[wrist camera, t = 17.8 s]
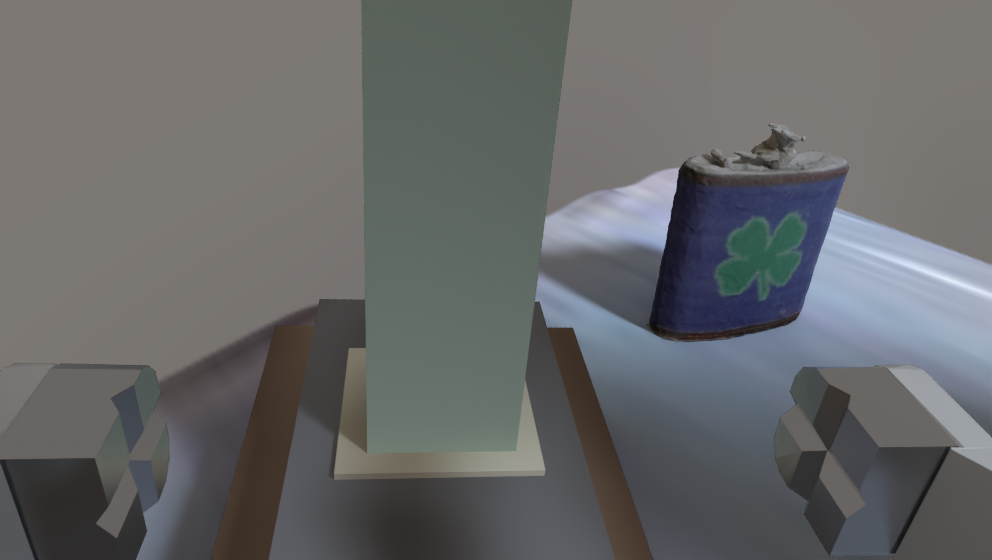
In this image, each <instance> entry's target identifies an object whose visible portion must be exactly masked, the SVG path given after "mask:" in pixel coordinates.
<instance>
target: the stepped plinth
mask: <svg viewBox="0 0 992 560" xmlns="http://www.w3.org/2000/svg"><path fill="white" fill-rule="evenodd" d="M211 560H653V558H652V555H651V552H650V549H649V546H648V543H647V540H646V537H645V535H644V532H643V529H642V526H641V523H640V520H639V517H638V514H637V512H636V509H635V506H634V503H633V500H632V497H631V494H630V491H629V488H628V486H627V483H626V480H625V477H624V474H623V471H622V468H621V465H620V463H619V460H618V457H617V454H616V451H615V448H614V445H613V442H612V439H611V437H610V434H609V431H608V428H607V425H606V422H605V419H604V416H603V414H602V411H601V408H600V405H599V402H598V399H597V396H596V393H595V391H594V388H593V385H592V382H591V379H590V376H589V373H588V370H587V367H586V365H585V362H584V359H583V356H582V353H581V350H580V347H579V344H578V342H577V339H576V336H575V333H574V330H573V328H547V326H546V322H545V319H544V315H543V312H542V309H541V305H540V302H535V303H534V311H533V319H532V327H531V335H530V343H529V351H528V359H527V367H526V375H525V383H524V392H523V400H522V408H521V416H520V424H519V432H518V440H517V448H516V451H497V452H424V453H367V395H366V318H365V300H337V299H320V300H319V306H318V311H317V316H316V321H315V326H276V327H275V331H274V334H273V338H272V341H271V345H270V349H269V352H268V356H267V359H266V363H265V367H264V370H263V374H262V377H261V381H260V385H259V388H258V392H257V395H256V399H255V403H254V406H253V410H252V413H251V417H250V421H249V424H248V428H247V431H246V435H245V439H244V442H243V446H242V449H241V453H240V457H239V460H238V464H237V467H236V471H235V475H234V478H233V482H232V485H231V489H230V493H229V496H228V500H227V503H226V507H225V511H224V514H223V518H222V522H221V525H220V529H219V532H218V536H217V540H216V543H215V547H214V550H213V554H212V558H211Z"/></svg>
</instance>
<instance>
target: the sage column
mask: <svg viewBox="0 0 992 560" xmlns="http://www.w3.org/2000/svg"><path fill="white" fill-rule="evenodd" d="M361 4H362V6H361V7H362V8H361V10H362V85H363V86H362V87H363V158H364V159H363V162H364V233H365V234H364V239H365V240H364V241H365V318H366V395H367V453H424V452H497V451H516V448H517V440H518V432H519V424H520V416H521V408H522V400H523V392H524V383H525V375H526V367H527V359H528V351H529V343H530V335H531V327H532V319H533V311H534V303H535V295H536V287H537V279H538V271H539V263H540V255H541V247H542V239H543V231H544V223H545V215H546V207H547V199H548V191H549V183H550V174H551V167H552V159H553V151H554V143H555V135H556V127H557V119H558V111H559V102H560V95H561V87H562V78H563V70H564V63H565V55H566V47H567V38H568V31H569V23H570V15H571V7H572V0H361Z"/></svg>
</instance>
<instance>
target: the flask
mask: <svg viewBox="0 0 992 560" xmlns="http://www.w3.org/2000/svg"><path fill="white" fill-rule="evenodd" d="M769 126H770V127H772V128H773V129H771V130H772V135H771V137H770V138H769V139H768V140H766V141H764V142H762V143H761V144H759V145H758V146H755V147H754V148H753V149H752V150H751V152H752V154H751V153H747V152H743V151H735V152H734V153H735V154H737V155H739V156H735V157H729V156H722V152H721V151H719V150H718V149H713V150H712V151H711V155H709V154H706V155H701V156H695V157H691V158H689V159H688V160H687V161H686V162H684V163H683V165H682V166H681V168H680V169H679V174H678V179H677V189H676V193H675V196H674V200H673V207H672V210H671V220H670V223H669V225H668V232H667V240H666V245H665V249H664V254H663V257H662V261H661V266H660V273H659V279H658V283H657V287H656V293H655V298H654V302H653V307H652V312H651V317H650V321H649V324H647V326H649V327H650V328H651V329H652V330H653V332H654V333H655V334H656V335H658V336H660V337H662V338H663V339H671V340H674V341H699V340H700V341H701V340H703V341H704V340H715V339H716V340H717V339H722V340H723V339H730V338H732V337H735V336H737V337H738V336H743V335H744V334H745V333H746V334H747V333H756V332H759V331H764V330H768V329H771V328H772V329H773V328H774V329H775V328H776V327H779V326H785V325H788V324H789V323H791V322H792V321H794V320H796V318H797V317H798V315H799V314H800V312H801V310H802V307H803V304H804V301H805V296H806V293H807V291H808V288H809V285H810V282H811V279H812V275H813V271H814V268H815V265H816V262H817V259H818V256H819V253H820V250H821V247H822V245H823V242H824V239H825V236H826V233H827V230H828V227H829V224H830V221H831V218H832V214H833V211H834V208H835V206H836V203H837V200H838V197H839V194H840V191H841V188H842V185H843V183H844V181H845V178H846V175H847V173H848V170H849V165H848V163H847V162H846V160H845V159H843V158H840V157H838V156H836V155H833V154H828V153H825V152H821V151H805V152H801V153H797V151H795V150H794V149H793V146H794V142H797V141H799V140H800V135H797V134H796V133H794V132H792V131H790V130H789V129H788V127H787V126H786V125H779V124H774V123H771V124H769ZM806 139H807V138H806V136H803V137H802V139H801V141H802V142H805V141H806Z"/></svg>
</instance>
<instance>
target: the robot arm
mask: <svg viewBox="0 0 992 560" xmlns="http://www.w3.org/2000/svg"><path fill="white" fill-rule="evenodd" d="M790 393H791V395H792V397H793V399H794V402H795V404H796V405H795V406H793V407H792V408H791V409H790V410H789V411H788V412H786V413H785V414H784V415H783V416H782V417H781V418H780V421H779V424H778V427H777V430H776V434H775V437H774V441H775V459H776V462H777V465H778V468H779V472H780V474H781V476H782V477H783V479H784V481H785V483H786V484H787V486H788V488H790V489H791V490H793V491H794V492H796V493H797V494H799V495H800V496H802V497H803V498H804V499H806V500H807V504H806V508H805V513H804V515H805V516H806V518H807V520H808V521H809V523H810V525H811V526H812V528H813V530H814V531H815V533H816V535H817V536H818V538H819V539H820V541H821V543H822V544H823V546H824V548H825V549H826V551H827V553H828V554H829V556H894V557H893V560H992V437H991V436H990V435H989V434H988V433H987V432H986V431H985V430H984V429H983V428H982V427H981V426H980V425H979V424H978V423H977V422H976V421H975V420H974V419H973V418H972V417H971V416H970V415H969V414H968V413H967V412H966V411H965V410H964V409H963V408H962V407H961V406H960V405H959V404H958V403H957V402H956V401H955V400H954V399H953V398H952V397H951V396H950V395H949V394H948V393H947V392H946V391H945V390H944V389H943V388H942V387H941V386H940V385H939V384H938V383H937V382H936V381H935V380H934V379H933V378H932V377H931V376H930V375H929V374H928V373H927V372H926V371H925V370H923V369H920V368H918V367H916V366H914V365H880V366H874V367H803V368H802V370H801V371H800V372H799V373H798V374H797V375H796V376H795V379H794V381H793V384H792V387H791V389H790ZM160 394H161V393H160V388H159V384H158V380H157V376H156V372H155V371H154V370H153V369H152V368H151V367H150V366H147V365H104V364H102V365H100V364H59V365H58V364H34V363H33V364H32V363H30V364H29V363H14V364H12V365H9V366H7V367H4V368H3V369H2V370H1V371H0V560H136V557H137V555H138V552H139V550H140V547H141V545H142V542H143V540H144V537H145V535H146V532H147V529H146V525H145V520H144V516H143V512H145V511H146V510H147V509H149V508H150V507H151V506H152V505H154V504H155V503H156V502H158V501H159V499H160V496H161V493H162V490H163V487H164V485H165V482H166V477H167V471H168V464H169V458H170V451H169V435H168V429H167V424H166V422H165V421H164V420H163V419H162V418H161V417H159V416H158V415H157V414H156V413H155V412H154V411H153V410H154V407H155V405H156V403H157V401H158V398H159V396H160Z"/></svg>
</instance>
